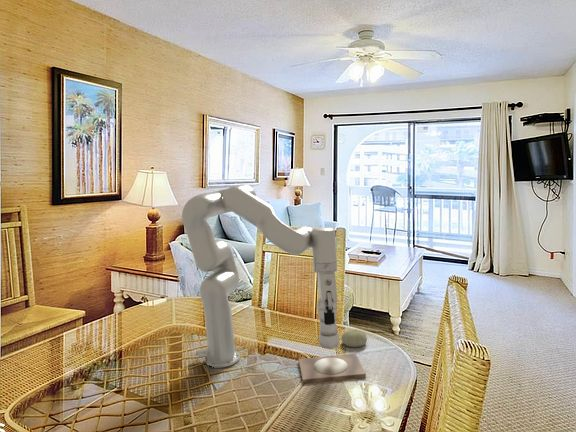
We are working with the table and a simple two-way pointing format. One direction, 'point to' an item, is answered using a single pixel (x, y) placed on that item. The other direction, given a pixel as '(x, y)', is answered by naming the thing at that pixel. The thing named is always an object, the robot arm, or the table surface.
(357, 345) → the sea urchin shell
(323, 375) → the walnut board
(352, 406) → the table surface
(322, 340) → the plastic bottle
